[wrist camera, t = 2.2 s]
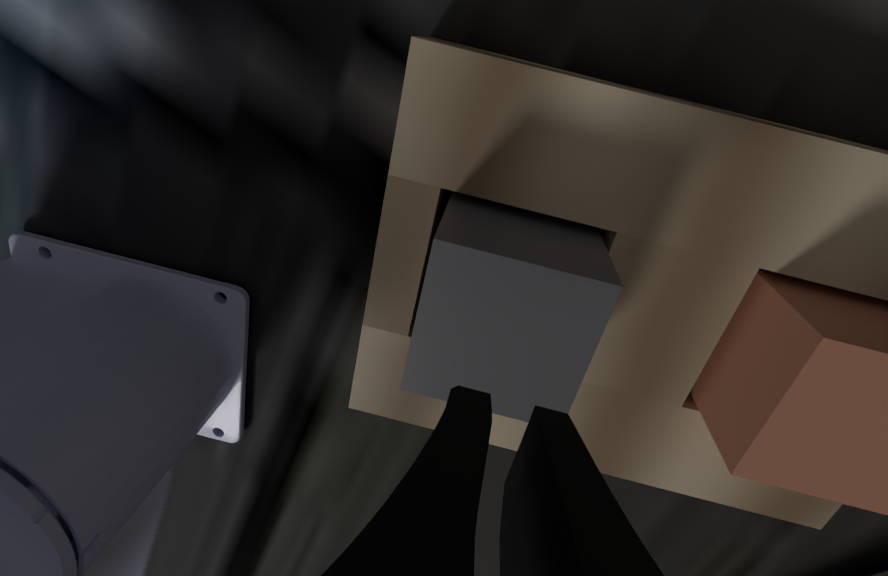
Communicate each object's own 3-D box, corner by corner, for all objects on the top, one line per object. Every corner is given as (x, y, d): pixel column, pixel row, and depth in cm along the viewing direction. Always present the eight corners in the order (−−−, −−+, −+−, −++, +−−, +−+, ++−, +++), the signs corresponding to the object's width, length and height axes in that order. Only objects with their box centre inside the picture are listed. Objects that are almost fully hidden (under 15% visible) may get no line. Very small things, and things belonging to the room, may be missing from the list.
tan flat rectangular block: (370, 359, 21) (348, 407, 18) (429, 36, 15) (411, 36, 12) (780, 465, 20) (820, 529, 18) (992, 176, 15) (1096, 206, 12)
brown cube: (685, 382, 17) (730, 474, 13) (749, 265, 15) (823, 337, 11) (814, 415, 17) (895, 517, 13) (896, 303, 15) (1017, 386, 11)
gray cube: (423, 315, 17) (399, 389, 13) (452, 191, 15) (433, 238, 11) (551, 348, 17) (560, 430, 13) (597, 227, 15) (622, 286, 11)
